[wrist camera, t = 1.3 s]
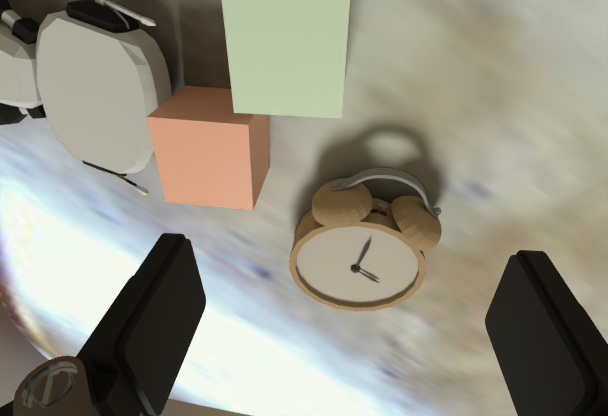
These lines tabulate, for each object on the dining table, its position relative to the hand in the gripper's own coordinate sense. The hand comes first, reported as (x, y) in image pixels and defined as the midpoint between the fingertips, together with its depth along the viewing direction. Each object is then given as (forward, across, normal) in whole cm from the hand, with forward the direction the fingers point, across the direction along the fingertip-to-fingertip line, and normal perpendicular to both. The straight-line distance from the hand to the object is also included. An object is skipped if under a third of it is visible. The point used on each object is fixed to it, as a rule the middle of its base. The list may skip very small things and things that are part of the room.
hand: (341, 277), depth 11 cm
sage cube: (+17, +3, -4) cm, 18 cm away
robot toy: (+18, +19, -2) cm, 26 cm away
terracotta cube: (+17, +9, +2) cm, 20 cm away
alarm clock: (+18, -2, +12) cm, 21 cm away
